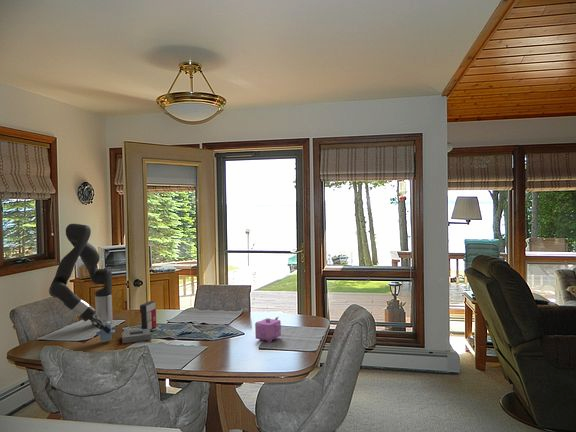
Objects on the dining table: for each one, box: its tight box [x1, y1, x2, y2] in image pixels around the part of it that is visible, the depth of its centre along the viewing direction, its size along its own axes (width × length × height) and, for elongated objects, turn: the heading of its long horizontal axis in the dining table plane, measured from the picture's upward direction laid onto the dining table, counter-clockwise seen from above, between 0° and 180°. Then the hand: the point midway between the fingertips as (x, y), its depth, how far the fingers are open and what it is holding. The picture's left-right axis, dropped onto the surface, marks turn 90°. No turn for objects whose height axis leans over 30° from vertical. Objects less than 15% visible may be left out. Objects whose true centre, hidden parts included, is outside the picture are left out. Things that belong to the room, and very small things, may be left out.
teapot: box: [254, 316, 282, 343], centre depth 230 cm, size 15×13×11 cm
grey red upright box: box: [139, 300, 157, 330], centre depth 255 cm, size 11×4×15 cm, turn 168°
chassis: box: [121, 328, 152, 344], centre depth 238 cm, size 12×14×3 cm
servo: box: [95, 322, 116, 341], centre depth 233 cm, size 4×9×9 cm, turn 109°
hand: (109, 330), depth 234 cm, fingers closed on servo, 4 cm apart
